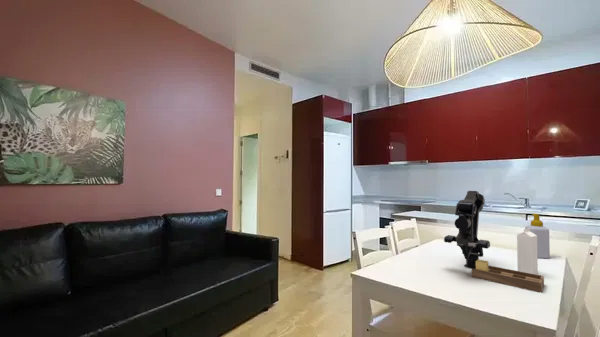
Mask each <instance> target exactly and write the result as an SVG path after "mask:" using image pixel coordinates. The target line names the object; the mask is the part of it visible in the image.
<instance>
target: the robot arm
mask: <svg viewBox="0 0 600 337" xmlns="http://www.w3.org/2000/svg"><path fill="white" fill-rule="evenodd" d="M485 200H486V199H485V196H484V195H482V194H480V193H479V191H477V190H468V191H466V195H465V197H464V198H463V199H460V200H459V201H458V202H457V203H456V207H455V213H454V215H455V216H456V217H457V216H458V218H456V219H455V221H454V226H455V228H456V229H457V230H458V234H457V235H452V234H451V235H450V234H448V235H446V236H444V238H443V242H444V243H448V244H452V243H453V242H455V243H456V246H458V247H459V249H460V250H461V251H462V252H461V254H462V255H463V258H464V259H465V262H466V263H465V264H463V267H467V268H470V269H476V261H477V260H480V258H481V257H484V250H483V249H486V250H487V249H489V248H491V242H490V241H489V240H486V239H479V238H478V234H479V233H478V232H479V230H478V229H479V219H480V212H481V211H482V210H483V209H484V206H485V202H486V201H485Z"/></svg>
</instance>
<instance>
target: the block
mask: <svg viewBox="0 0 600 337" xmlns="http://www.w3.org/2000/svg"><path fill="white" fill-rule="evenodd" d="M488 265H489V260H481V259H479V260H477V261H476V269H477V270H482V271H487V272H488Z"/></svg>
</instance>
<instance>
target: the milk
mask: <svg viewBox="0 0 600 337" xmlns="http://www.w3.org/2000/svg"><path fill="white" fill-rule="evenodd" d="M516 244H517V245H516V247H517V248H516V250H517V251H516V253H517V258H516V259H517V271H520V272H525V273H530V274H536V275H539V273H538V272H539V270H538V266H539V264H538V261H539V260H538V258H537V235H535V234H534V233H532V232H530V228H527V229H525V228H524V229H523V232H521V233H517V234H516Z"/></svg>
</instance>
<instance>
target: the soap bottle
mask: <svg viewBox="0 0 600 337" xmlns="http://www.w3.org/2000/svg"><path fill="white" fill-rule="evenodd" d="M531 215H532V216H533V219H532V220H530V224H528V225H526V226H524V227H525V228H524V229H527V228H530V232H532V233H534V234H535V235H537V259H550V252H551V251H550V248H551V246H550V229H549V228H547V227H546V226H544V222H543V221H542V220H540V214H539V213H531Z"/></svg>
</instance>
